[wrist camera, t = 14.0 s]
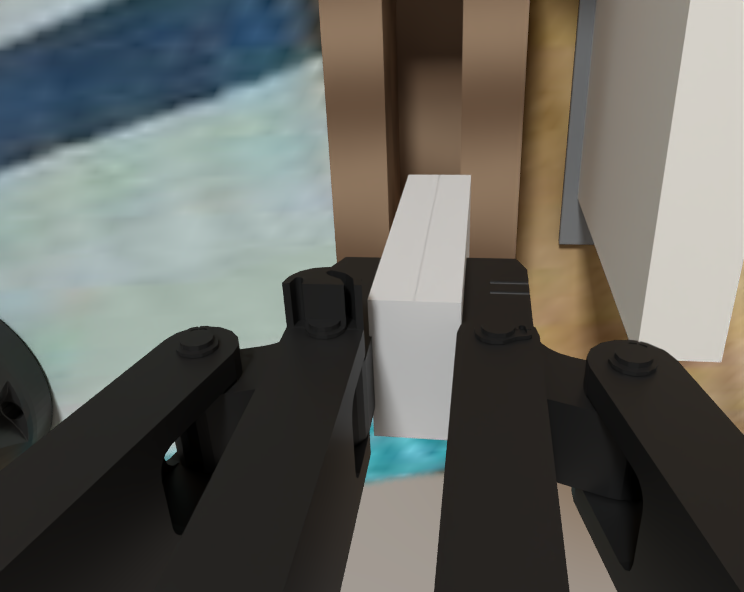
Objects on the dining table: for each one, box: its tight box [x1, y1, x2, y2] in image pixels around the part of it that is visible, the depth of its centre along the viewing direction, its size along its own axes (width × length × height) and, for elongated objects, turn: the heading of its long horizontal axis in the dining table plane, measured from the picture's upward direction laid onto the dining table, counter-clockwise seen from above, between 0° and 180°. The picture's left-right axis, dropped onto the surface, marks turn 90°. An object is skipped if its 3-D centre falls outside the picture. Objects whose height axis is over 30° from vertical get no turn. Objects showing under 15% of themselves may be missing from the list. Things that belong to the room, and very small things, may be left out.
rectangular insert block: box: [578, 0, 744, 362], centre depth 26 cm, size 11×2×15 cm, turn 2°
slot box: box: [319, 0, 530, 263], centre depth 31 cm, size 16×8×6 cm, turn 2°
